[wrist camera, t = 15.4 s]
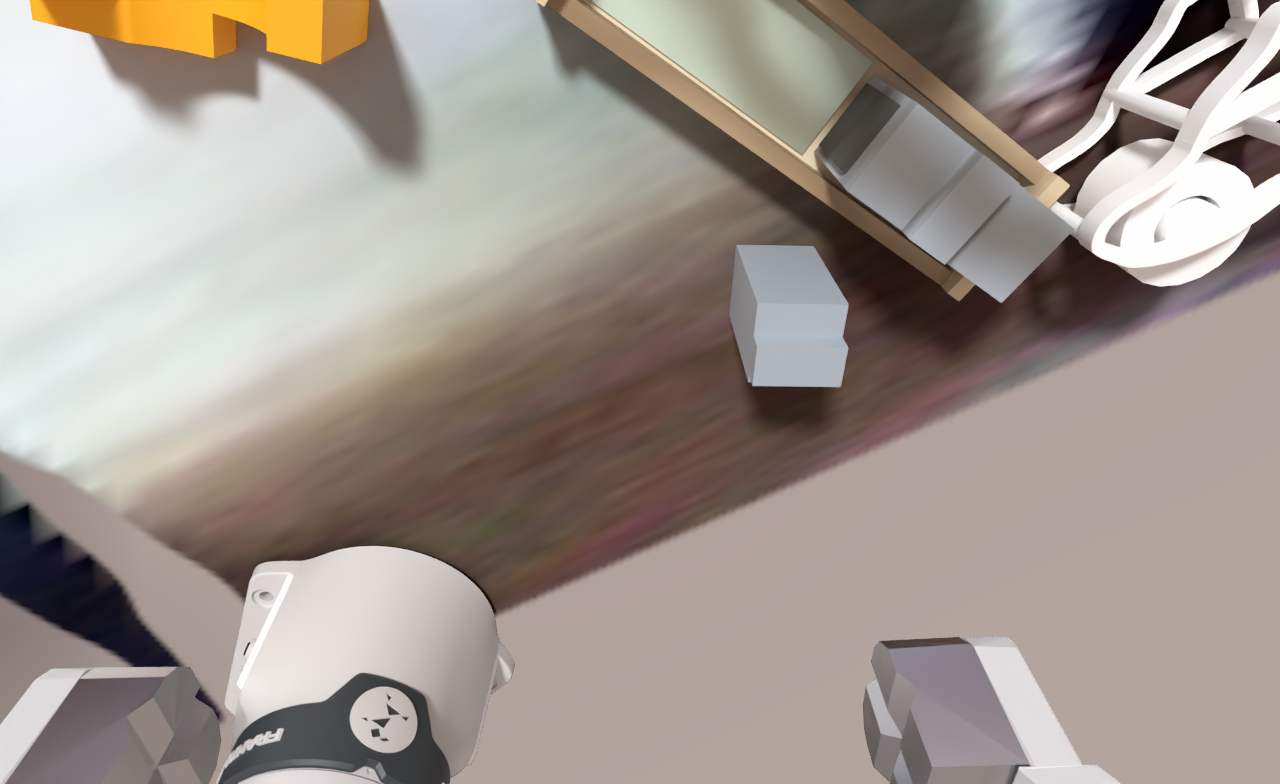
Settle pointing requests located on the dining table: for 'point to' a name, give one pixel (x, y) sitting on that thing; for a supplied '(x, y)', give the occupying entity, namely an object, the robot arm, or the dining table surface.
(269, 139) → the dining table surface
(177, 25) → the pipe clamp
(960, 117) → the wooden rectangular frame
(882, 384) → the dining table surface
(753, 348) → the stepped grey block
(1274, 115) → the car outline toy
